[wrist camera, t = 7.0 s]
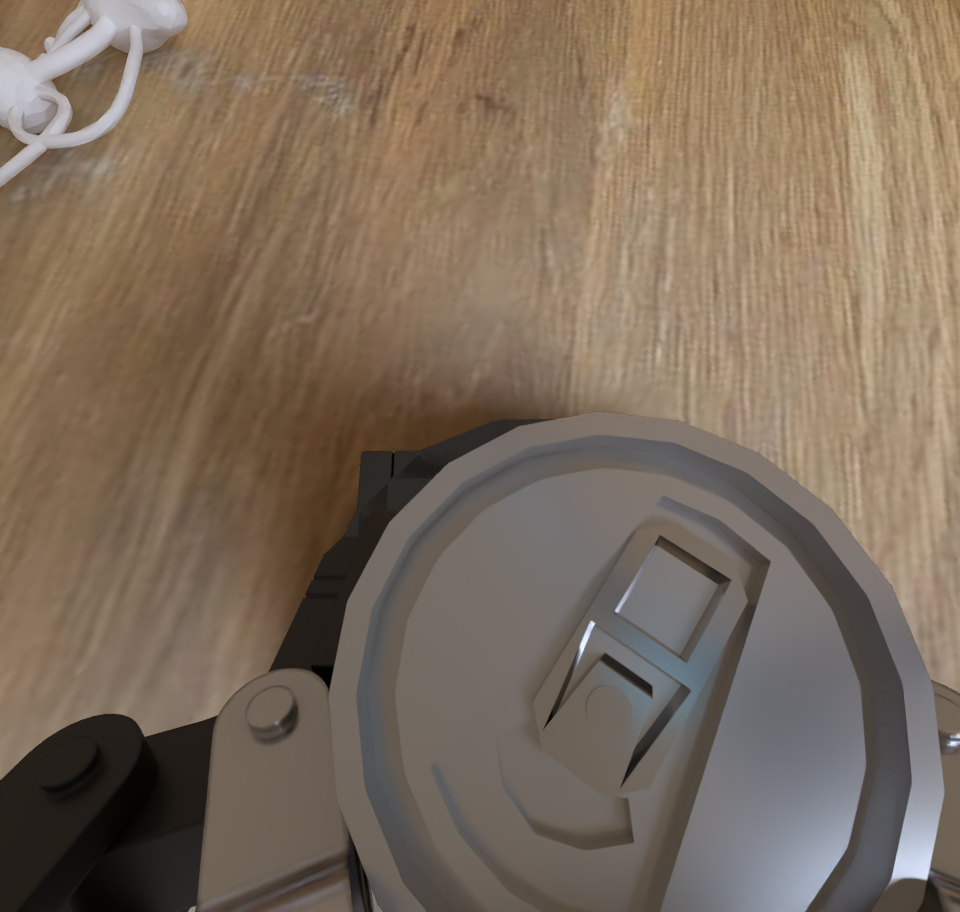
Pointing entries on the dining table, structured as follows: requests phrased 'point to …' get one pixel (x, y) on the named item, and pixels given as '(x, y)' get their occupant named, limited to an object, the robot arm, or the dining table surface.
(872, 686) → the beer can
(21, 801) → the robot arm
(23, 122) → the tangled rod sculpture
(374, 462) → the dark faceted ring
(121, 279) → the dining table surface
